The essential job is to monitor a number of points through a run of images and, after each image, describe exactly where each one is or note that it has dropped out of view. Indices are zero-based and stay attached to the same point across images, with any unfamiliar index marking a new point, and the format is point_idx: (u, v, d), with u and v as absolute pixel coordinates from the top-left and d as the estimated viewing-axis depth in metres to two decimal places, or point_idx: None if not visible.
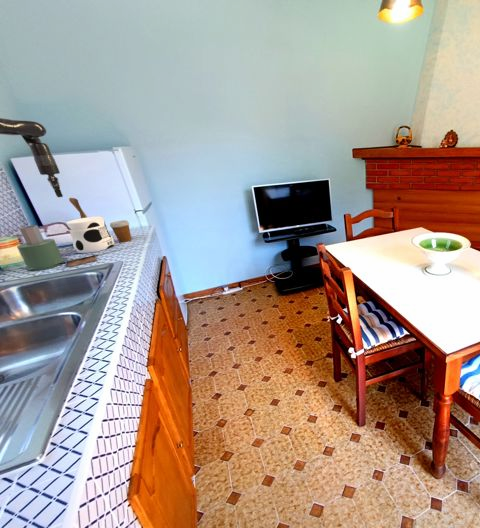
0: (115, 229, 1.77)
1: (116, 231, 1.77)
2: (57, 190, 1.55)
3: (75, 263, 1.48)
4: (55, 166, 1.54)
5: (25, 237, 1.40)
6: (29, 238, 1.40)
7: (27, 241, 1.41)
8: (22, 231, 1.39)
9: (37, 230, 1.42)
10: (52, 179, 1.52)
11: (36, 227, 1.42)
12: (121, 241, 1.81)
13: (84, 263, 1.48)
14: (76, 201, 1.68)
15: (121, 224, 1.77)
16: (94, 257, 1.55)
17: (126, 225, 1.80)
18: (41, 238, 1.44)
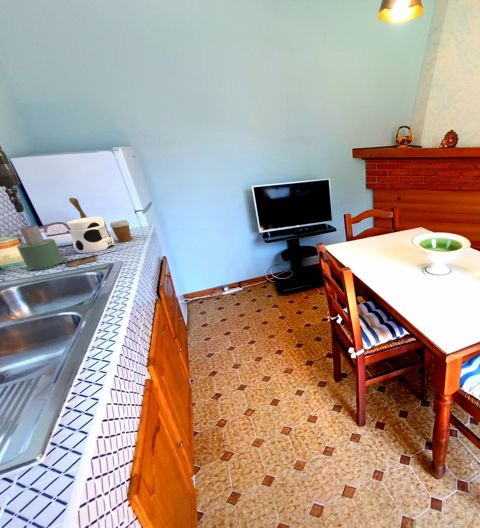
0: (115, 229, 1.77)
1: (116, 231, 1.77)
2: (16, 204, 1.34)
3: (75, 263, 1.48)
4: (13, 177, 1.33)
5: (25, 237, 1.40)
6: (29, 238, 1.40)
7: (27, 241, 1.41)
8: (22, 231, 1.39)
9: (37, 230, 1.42)
10: (9, 192, 1.30)
11: (36, 227, 1.42)
12: (121, 241, 1.81)
13: (84, 263, 1.48)
14: (76, 201, 1.68)
15: (121, 224, 1.77)
16: (94, 257, 1.55)
17: (126, 225, 1.80)
18: (41, 238, 1.44)
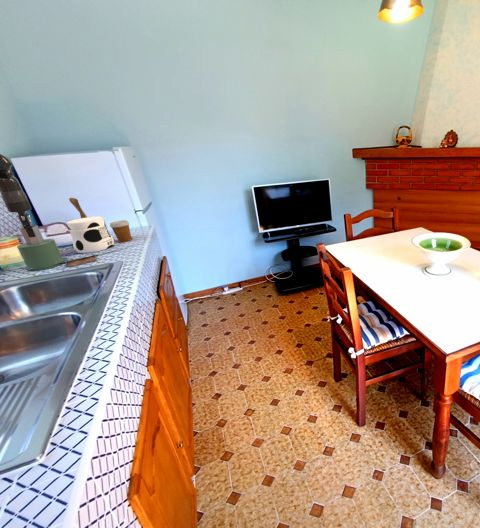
0: (115, 229, 1.77)
1: (116, 231, 1.77)
2: (29, 230, 1.39)
3: (75, 263, 1.48)
4: (25, 202, 1.37)
5: (25, 237, 1.40)
6: (29, 238, 1.40)
7: (27, 241, 1.41)
8: (22, 231, 1.39)
9: (37, 230, 1.42)
10: (22, 219, 1.35)
11: (36, 227, 1.42)
12: (121, 241, 1.81)
13: (84, 263, 1.48)
14: (76, 201, 1.68)
15: (121, 224, 1.77)
16: (94, 257, 1.55)
17: (126, 225, 1.80)
18: (41, 238, 1.44)
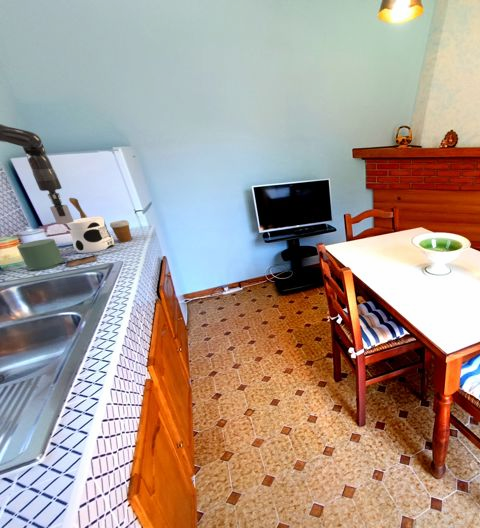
0: (115, 229, 1.77)
1: (116, 231, 1.77)
2: (59, 209, 1.38)
3: (75, 263, 1.48)
4: (56, 181, 1.37)
5: (55, 216, 1.40)
6: (59, 217, 1.40)
7: (58, 220, 1.41)
8: (52, 210, 1.39)
9: (66, 209, 1.42)
10: (54, 197, 1.35)
11: (66, 206, 1.42)
12: (121, 241, 1.81)
13: (84, 263, 1.48)
14: (76, 201, 1.68)
15: (121, 224, 1.77)
16: (94, 257, 1.55)
17: (126, 225, 1.80)
18: (70, 218, 1.44)
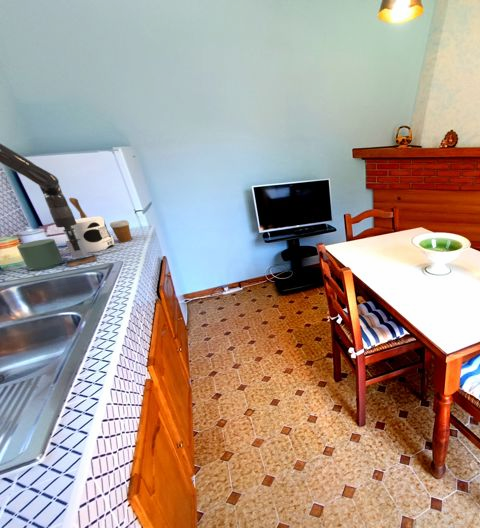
0: (115, 229, 1.77)
1: (116, 231, 1.77)
2: (74, 244, 1.45)
3: (75, 263, 1.48)
4: (71, 218, 1.43)
5: (71, 250, 1.46)
6: (74, 251, 1.47)
7: (73, 254, 1.47)
8: (68, 245, 1.45)
9: (81, 243, 1.49)
10: (69, 234, 1.41)
11: (80, 241, 1.48)
12: (121, 241, 1.81)
13: (84, 263, 1.48)
14: (76, 201, 1.68)
15: (121, 224, 1.77)
16: (94, 257, 1.55)
17: (126, 225, 1.80)
18: (85, 251, 1.50)
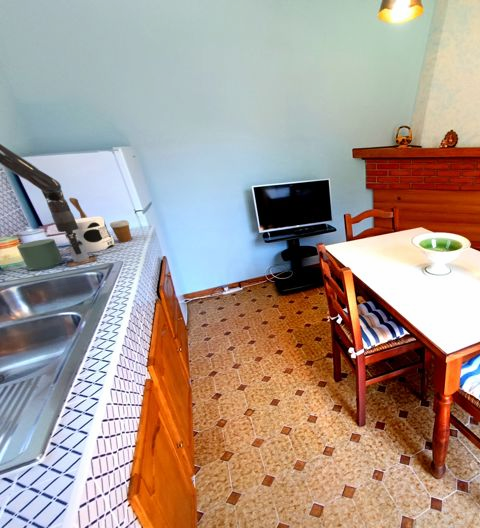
0: (115, 229, 1.77)
1: (116, 231, 1.77)
2: (76, 247, 1.45)
3: (75, 263, 1.48)
4: (73, 222, 1.44)
5: (73, 255, 1.47)
6: (76, 256, 1.48)
7: (75, 259, 1.48)
8: (70, 250, 1.46)
9: (83, 248, 1.50)
10: (71, 237, 1.42)
11: (83, 246, 1.49)
12: (121, 241, 1.81)
13: (84, 263, 1.48)
14: (76, 201, 1.68)
15: (121, 224, 1.77)
16: (94, 257, 1.55)
17: (126, 225, 1.80)
18: (87, 256, 1.51)
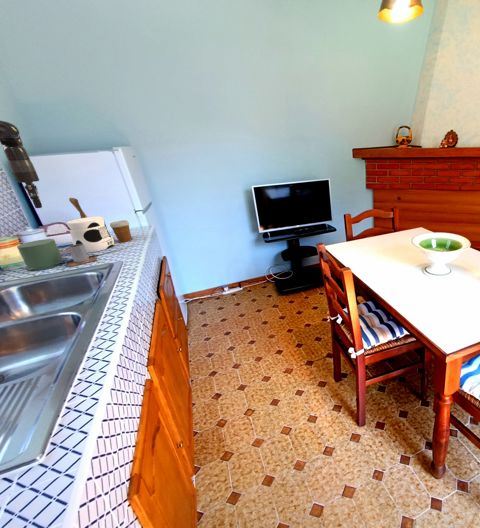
0: (115, 229, 1.77)
1: (116, 231, 1.77)
2: (35, 200, 1.35)
3: (75, 263, 1.48)
4: (33, 173, 1.35)
5: (73, 255, 1.47)
6: (76, 256, 1.48)
7: (75, 259, 1.48)
8: (70, 250, 1.46)
9: (83, 248, 1.50)
10: (29, 188, 1.32)
11: (83, 246, 1.49)
12: (121, 241, 1.81)
13: (84, 263, 1.48)
14: (76, 201, 1.68)
15: (121, 224, 1.77)
16: (94, 257, 1.55)
17: (126, 225, 1.80)
18: (87, 256, 1.51)
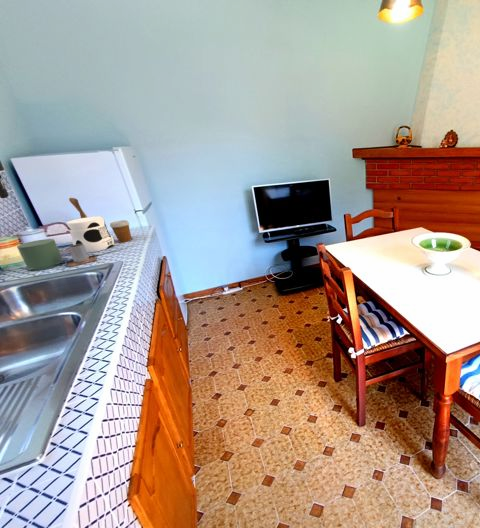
0: (115, 229, 1.77)
1: (116, 231, 1.77)
2: (0, 190, 1.32)
3: (75, 263, 1.48)
4: None
5: (73, 255, 1.47)
6: (76, 256, 1.48)
7: (75, 259, 1.48)
8: (70, 250, 1.46)
9: (83, 248, 1.50)
10: None
11: (83, 246, 1.49)
12: (121, 241, 1.81)
13: (84, 263, 1.48)
14: (76, 201, 1.68)
15: (121, 224, 1.77)
16: (94, 257, 1.55)
17: (126, 225, 1.80)
18: (87, 256, 1.51)
